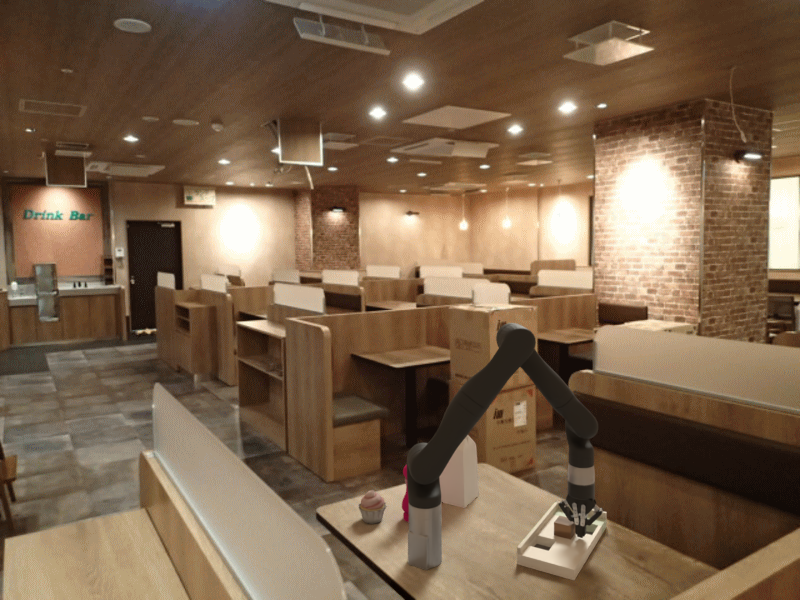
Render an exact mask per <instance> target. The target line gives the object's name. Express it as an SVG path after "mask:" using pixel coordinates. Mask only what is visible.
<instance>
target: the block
mask: <svg viewBox="0 0 800 600" xmlns="http://www.w3.org/2000/svg"><path fill="white" fill-rule="evenodd" d="M574 534H575V523H574V522H572V521H569V520H568V518H567V517H563V516H559V517H558V518H557V519H556V521H555V522H554V535H555V536H559V537H563V538H566V539H570V540H571V538H572V537H573V536H574Z"/></svg>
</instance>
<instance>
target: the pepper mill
mask: <svg viewBox="0 0 800 600" xmlns="http://www.w3.org/2000/svg"><path fill="white" fill-rule="evenodd" d="M402 474H403V476H404V477H405V478H404V483H405V486H406V489H405V494H404V497H403V498H402V502H401V508H402V510H403V514H402V515H403V521H405V522H407V523H409V502H408V488H407V464H405V466H404V467H403V469H402Z"/></svg>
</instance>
